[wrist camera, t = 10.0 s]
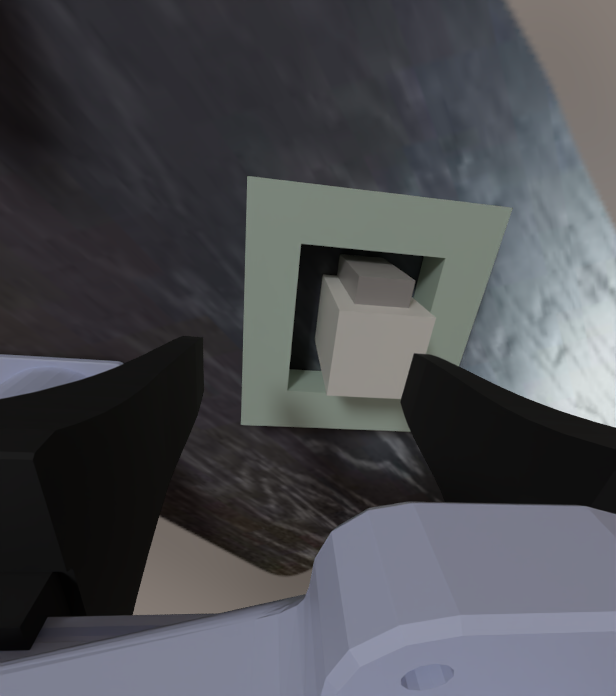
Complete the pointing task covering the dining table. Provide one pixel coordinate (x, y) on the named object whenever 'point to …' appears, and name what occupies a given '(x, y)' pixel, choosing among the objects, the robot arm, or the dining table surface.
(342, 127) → the dining table surface
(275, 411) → the socket board
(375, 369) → the plug
